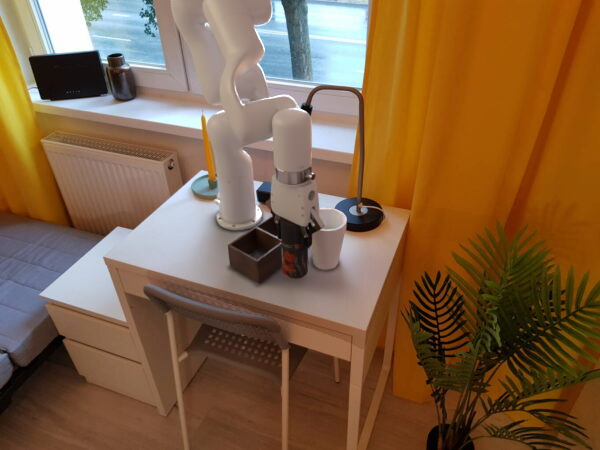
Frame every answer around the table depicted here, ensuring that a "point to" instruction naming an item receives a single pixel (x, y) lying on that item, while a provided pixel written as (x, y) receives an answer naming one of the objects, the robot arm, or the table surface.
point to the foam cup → (328, 238)
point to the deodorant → (293, 250)
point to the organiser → (251, 241)
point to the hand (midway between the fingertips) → (294, 241)
